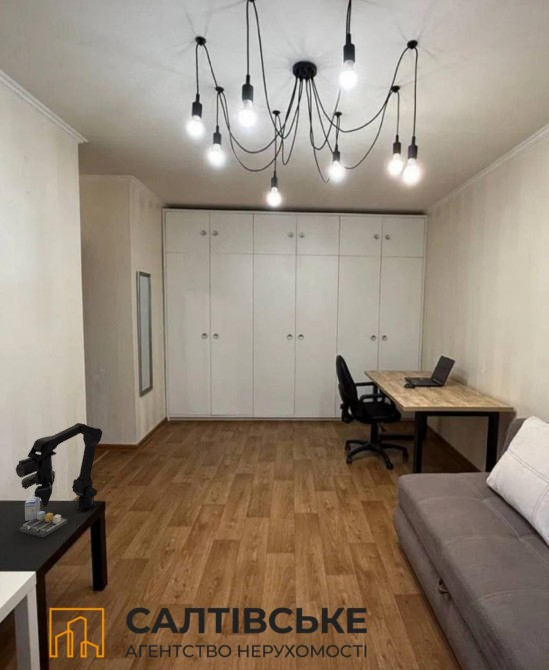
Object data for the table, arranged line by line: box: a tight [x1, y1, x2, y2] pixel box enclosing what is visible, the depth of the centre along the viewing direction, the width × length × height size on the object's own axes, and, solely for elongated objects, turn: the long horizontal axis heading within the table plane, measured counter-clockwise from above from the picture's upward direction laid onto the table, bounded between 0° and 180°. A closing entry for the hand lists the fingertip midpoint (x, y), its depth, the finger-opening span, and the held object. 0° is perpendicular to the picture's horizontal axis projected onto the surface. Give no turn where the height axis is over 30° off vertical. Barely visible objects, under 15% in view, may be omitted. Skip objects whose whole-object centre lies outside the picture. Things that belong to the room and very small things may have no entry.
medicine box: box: [24, 494, 41, 522], centre depth 172 cm, size 8×4×9 cm, turn 21°
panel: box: [19, 513, 68, 538], centre depth 164 cm, size 12×14×2 cm
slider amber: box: [45, 512, 54, 522], centre depth 166 cm, size 3×2×3 cm
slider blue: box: [37, 510, 46, 520], centre depth 167 cm, size 3×2×3 cm
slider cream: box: [53, 514, 62, 524], centre depth 164 cm, size 3×2×3 cm
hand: (46, 501), depth 161 cm, fingers open, 9 cm apart
